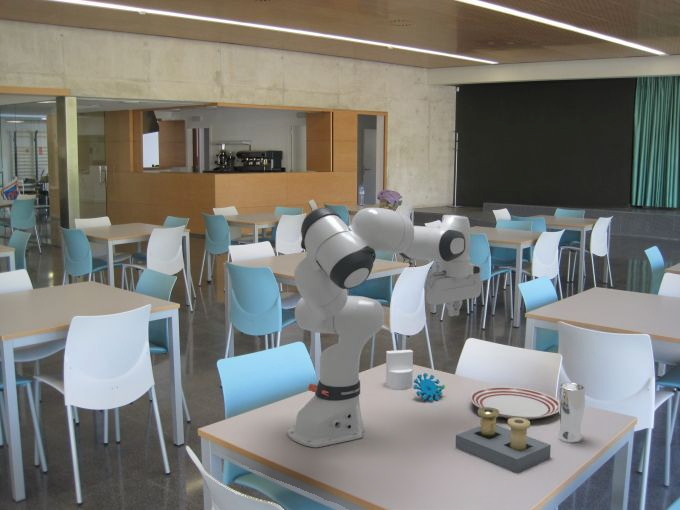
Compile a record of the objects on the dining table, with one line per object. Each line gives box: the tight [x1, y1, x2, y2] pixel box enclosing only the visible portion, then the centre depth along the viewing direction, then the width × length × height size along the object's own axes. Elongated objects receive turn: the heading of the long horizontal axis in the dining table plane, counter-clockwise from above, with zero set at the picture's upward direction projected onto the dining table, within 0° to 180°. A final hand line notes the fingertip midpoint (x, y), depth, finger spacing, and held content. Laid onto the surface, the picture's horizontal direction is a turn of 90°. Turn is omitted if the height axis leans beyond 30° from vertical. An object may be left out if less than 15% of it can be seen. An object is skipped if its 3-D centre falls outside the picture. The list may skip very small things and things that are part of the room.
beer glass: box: [557, 382, 586, 444], centre depth 195 cm, size 7×7×15 cm
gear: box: [413, 372, 446, 403], centre depth 230 cm, size 11×6×10 cm
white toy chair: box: [385, 349, 414, 391], centre depth 241 cm, size 9×9×12 cm
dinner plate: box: [469, 386, 559, 421], centre depth 219 cm, size 27×27×3 cm
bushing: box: [477, 407, 499, 439], centre depth 190 cm, size 6×6×10 cm
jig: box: [455, 418, 552, 474], centre depth 186 cm, size 20×14×10 cm
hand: (453, 315), depth 208 cm, fingers closed
